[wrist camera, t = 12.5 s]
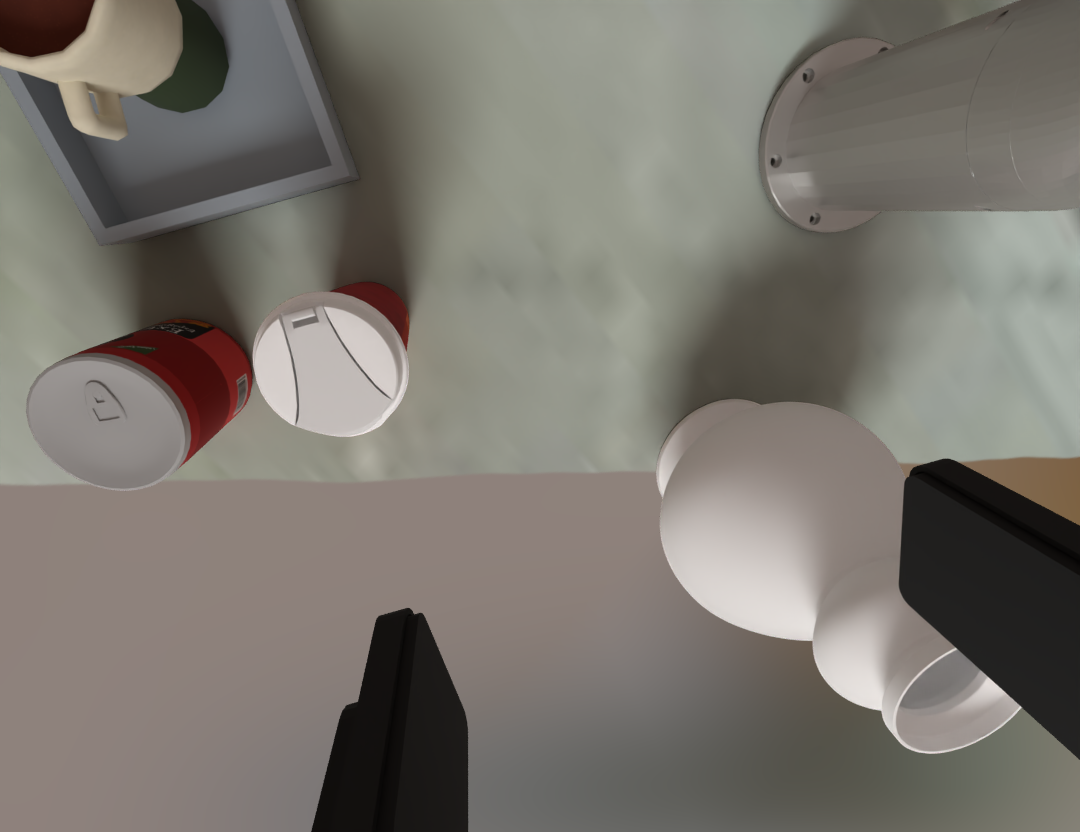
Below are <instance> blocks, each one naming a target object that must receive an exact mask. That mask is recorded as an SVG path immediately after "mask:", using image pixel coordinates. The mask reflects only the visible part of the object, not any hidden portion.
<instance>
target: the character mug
mask: <svg viewBox="0 0 1080 832" xmlns="http://www.w3.org/2000/svg"><path fill="white" fill-rule="evenodd" d="M0 65H1V66H3V67H6V68H9V69H13V70H16V71H20V72H23V73H26V74H29V75H32V76H35V77H38V78H41V79H44V80H47V81H50V82H54V83H57V84H58V86H59V89H60V92H61V95H62V98H63V102H64V105H65V108H66V111H67V115H68V117H69V119H70V121H71V123H72V125H73V127H74V128H76V129H78V130H79V131H81V132H83V133H86V134H88V135H92V136H97V137H101V138H106V139H111V140H116V141H118V140H120V139H122V138H124V137H126V136H127V135H128V130H127V124H126V120H125V116H124V113H123V109H122V105H121V102H120V98H124V97H129V96H133V95H136V96H137V97H139V98H140V99H142V100H144V101H146V102H148V103H150V104H152V105H154V106H156V107H158V108H162V109H166V110H171V111H175V112H179V113H185V112H189V111H193V110H197V109H201V108H205V107H207V106H208V105H209V104H210V103H211V102H212V101H213V100H214V99H215V98H216V97H217V96H218V95H219V94H220V93H221V92H222V91H223V87H224V84H225V80H226V76H227V73H228V69H229V64H228V59H227V54H226V49H225V44H224V39H223V37H222V35H221V34H220V32H219V31H218V29H217V28H216V26H215V25H214V23H213V21H212V20H211V18H210V17H209V15H208V14H207V12H206V11H205V10H204V9H203V8H201V7H200V6H199V5H197V4H196V3H195V2H194V1H192V0H0ZM89 93H93V94H94V97H95V101H96V104H97V108H98V111H99V114H95V112H94V109H93V106H92V102H91V99H90V95H89Z"/></svg>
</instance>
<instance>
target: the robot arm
mask: <svg viewBox="0 0 1080 832" xmlns="http://www.w3.org/2000/svg"><path fill="white" fill-rule="evenodd" d="M802 77H803V78H802ZM771 159H772V164H771V163H770V162H771ZM759 168H760V174H761V178H762V183H763V187H764V189H765V191H766V194H767V196H768V198H769V201H770V202H771V203H772V205H773V206H774V208H775V209H776V211H777V212H778V213H779V214H780V215H781V216H782V217H783V218H785V219H786V220H787V221H788V222H790V223H791V224H793V225H795V226H797V227H799V228H801V229H805V230H809V231H813V232H825V233H829V232H841V231H845V230H848V229H851V228H855V227H857V226H859V225H861V224H863V223H865V222H867V221H869V220H871V219H872V218H873V217H875V216H876V215H878V214H879V213H880V212H882V211H1058V210H1068V209H1075V208H1080V0H1019V1H1017V2H1014V3H1011V4H1009V5H1006V6H1003V7H1001V8H998V9H995V10H993V11H990V12H987V13H985V14H982V15H979V16H977V17H974V18H971V19H969V20H966V21H963V22H961V23H958V24H955V25H953V26H950V27H947V28H945V29H942V30H939V31H937V32H934V33H931V34H929V35H926V36H923V37H921V38H918V39H915V40H913V41H910V42H907V43H904V44H902V45H899V46H896V47H895V46H894V45H893V44H891V43H888V42H886V41H883V40H880V39H877V38H867V37H858V38H851V39H845V40H842V41H840V42H837V43H835V44H832V45H829V46H827V47H825V48H823V49H822V50H820V51H818V52H816V53H814V54H812V55H811V56H810V57H808V58H807V59H806V60H805V61H803V62H802V63H801V64H800V65H798V66H797V67H796V69H795V70H794V71H793V72H792V73H791V74H790V75H789V76H788V77H787V79H786V80H785V81H784V83H783V84H782V86H781V87H780V89H779V90H778V92H777V93H776V95H775V97H774V99H773V101H772V103H771V105H770V108H769V110H768V112H767V114H766V118H765V121H764V125H763V128H762V132H761V138H760V146H759ZM899 590H900V593H901V595H902V597H903V599H904V600H905V602H906V603H907V604H908V605H909V606H910V607H911V608H912V609H913V610H914V611H916V612H917V613H918V614H919V615H920V616H921V617H922V618H923V619H924V620H926V621H927V622H928V623H929V624H930V625H931V626H932V627H933V628H934V629H935V630H937V631H938V632H939V633H940V634H941V635H942V636H943V637H944V638H945V639H947V640H948V641H949V642H950V643H951V644H952V645H953V646H954V647H955V648H957V649H958V650H959V651H960V652H961V653H962V654H963V655H964V656H965V657H966V658H968V659H969V660H970V661H971V662H972V663H973V664H974V665H975V666H976V667H978V668H979V669H980V670H981V671H982V672H983V673H984V674H985V675H986V676H988V677H989V678H990V679H991V680H992V681H993V682H994V683H995V684H996V685H997V686H999V687H1000V688H1001V689H1002V690H1003V691H1004V692H1005V693H1006V694H1007V695H1009V696H1010V697H1011V698H1012V699H1013V700H1014V701H1015V702H1016V703H1017V704H1019V705H1020V706H1021V707H1022V708H1023V709H1024V710H1025V711H1026V712H1027V713H1029V714H1030V715H1031V716H1032V717H1033V718H1034V719H1035V720H1036V721H1037V722H1038V723H1040V724H1041V725H1042V726H1043V727H1044V728H1045V729H1046V730H1047V731H1049V732H1050V733H1051V734H1052V735H1053V736H1054V737H1055V738H1056V739H1057V740H1058V741H1059V742H1061V743H1062V744H1063V745H1064V746H1065V747H1066V748H1067V749H1068V750H1070V751H1071V752H1072V753H1073V754H1074V755H1075V756H1076V757H1077V758H1078V759H1079V760H1080V526H1079V525H1077V524H1076V523H1074V522H1072V521H1069V520H1068V519H1066V518H1064V517H1062V516H1060V515H1058V514H1056V513H1054V512H1053V511H1051V510H1049V509H1047V508H1045V507H1043V506H1041V505H1039V504H1037V503H1035V502H1033V501H1031V500H1029V499H1028V498H1025V497H1024V496H1022V495H1020V494H1018V493H1016V492H1014V491H1012V490H1010V489H1008V488H1006V487H1005V486H1003V485H1001V484H999V483H997V482H995V481H993V480H991V479H989V478H987V477H985V476H983V475H982V474H980V473H978V472H976V471H974V470H972V469H970V468H968V467H966V466H964V465H962V464H960V463H958V462H957V461H954V460H951V459H941V460H937V461H934V462H930V463H927V464H923V465H919V466H916V467H914V468H913V469H912V470H911V472H910V475H909V477H907V478H906V480H905V482H904V493H903V512H902V530H901V549H900V567H899ZM311 832H468V727H467V720H466V715H465V711H464V709H463V706H462V704H461V701H460V699H459V696H458V694H457V692H456V689H455V687H454V685H453V682H452V680H451V677H450V675H449V673H448V670H447V668H446V666H445V664H444V661H443V659H442V656H441V654H440V651H439V649H438V647H437V645H436V642H435V640H434V637H433V635H432V633H431V630H430V628H429V625H428V623H427V621H426V618H425V617H424V615H423V614H422V613H418V614H415V615H414V613H413V611H412V610H411V609H410V608H405V609H402V610H398V611H395V612H391V613H388V614H384V615H381V616H379V617H378V618H377V620H376V623H375V627H374V631H373V636H372V640H371V645H370V650H369V654H368V659H367V663H366V668H365V672H364V677H363V681H362V686H361V691H360V695H359V700H358V702H356V703H352V704H349V705H347V706H346V707H345V708H344V710H343V711H342V713H341V716H340V719H339V723H338V727H337V731H336V735H335V739H334V743H333V747H332V751H331V755H330V759H329V763H328V767H327V771H326V775H325V779H324V783H323V787H322V791H321V795H320V799H319V803H318V808H317V811H316V815H315V819H314V823H313V827H312V831H311Z"/></svg>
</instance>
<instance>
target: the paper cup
mask: <svg viewBox="0 0 1080 832" xmlns="http://www.w3.org/2000/svg"><path fill="white" fill-rule="evenodd" d="M408 335H409V316H408V312H407V309H406V307H405V305H404V303H403V301H402V300H401V299H400V297H399V296H398V295H397V294H396V293H395V292H394V291H392V290H391V289H389V288H388V287H386V286H384V285H381V284H378V283H374V282H359V283H354V284H350V285H347V286H344V287H341V288H338V289H335V290H332V291H329V292H311V293H306V294H301V295H299V296H296V297H293V298H291V299H289V300H287V301H285V302H283V303H282V304H280V305H279V306H278V307H276V308H275V309H274V310H273V311H271V312H270V314H269V315H268V316H267V317H266V318H265V320H264V321H263V323H262V324H261V326H260V328H259V330H258V332H257V335H256V338H255V341H254V347H253V366H254V371H255V376H256V380H257V383H258V386H259V389H260V391H261V393H262V395H263V396H264V398H265V400H266V401H267V403H268V404H269V405H270V406H271V408H272V409H273V410H274V411H275V412H276V413H277V414H278V415H279V416H280V417H282V418H283V419H284V420H286V421H287V422H289V423H290V424H292V425H294V426H297V427H300V428H303V429H306V430H309V431H313V432H316V433H320V434H325V435H331V436H339V437H345V436H349V437H351V436H356V435H361V434H364V433H366V432H369V431H372V430H374V429H375V428H377V427H379V426H381V425H382V424H383V423H384V421H385V420H386V419H387V418H388V417H389V416H390V415H391V413H392V412H393V411H394V410H395V409H396V408H397V406H398V405H399V403H400V402H401V400H402V398H403V395H404V393H405V391H406V387H407V383H408V376H409V364H408V357H407V353H406V351H407V343H408Z"/></svg>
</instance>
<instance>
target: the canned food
mask: <svg viewBox="0 0 1080 832" xmlns="http://www.w3.org/2000/svg"><path fill="white" fill-rule="evenodd" d="M251 387H252V371H251V367H250V363H249V361H248V358H247V356H246V354H245V352H244V351H243V350H242V348H241V347H240V345H239V344H238V343H237V342H236V341H235V340H234V339H233V338H232V337H231V336H230V335H228V334H227V333H225V332H224V331H223V330H221V329H219V328H217V327H215V326H213V325H211V324H208V323H204V322H201V321H197V320H190V319H172V320H168V321H164V322H161V323H158V324H155V325H152V326H150V327H147V328H144V329H141V330H139V331H136V332H133V333H131V334H128V335H125V336H122V337H120V338H117V339H114V340H111V341H109V342H106V343H103V344H100V345H98V346H95V347H92V348H89V349H87V350H84V351H81V352H79V353H77V354H74V355H72V356H69V357H66V358H65V359H63V360H61V361H59V362H57V363H55V364H53V365H52V366H50V367H48V368H47V369H46V370H44V371H43V372H42V373H41V374H40V375H39V376H38V377H37V378H36V380H35V381H34V383H33V384H32V386H31V388H30V391H29V394H28V397H27V408H26V414H27V418H28V423H29V427H30V429H31V432H32V434H33V436H34V439H35V440H36V442H37V443H38V445H39V446H40V448H41V449H42V451H43V452H44V453H45V454H46V455H47V456H48V457H49V458H50V459H51V460H52V461H53V462H54V463H55V464H56V465H57V466H59V467H60V468H61V469H62V470H64V471H65V472H66V473H68V474H70V475H72V476H73V477H75V478H77V479H79V480H80V481H83V482H86V483H88V484H91V485H93V486H96V487H101V488H105V489H110V490H122V491H127V490H138V489H142V488H146V487H149V486H153V485H155V484H157V483H159V482H160V481H162V480H164V479H165V478H167V477H169V476H170V475H171V474H172V473H174V472H175V471H176V470H177V469H178V468H180V467H181V466H182V465H183V464H184V463H185V462H187V461H188V460H189V459H190V458H191V457H192V456H193V455H194V454H195V453H196V452H197V451H198V450H200V449H201V448H202V447H203V446H204V445H205V444H206V443H207V442H208V441H209V440H210V439H211V438H212V437H213V436H214V435H216V434H217V433H218V432H219V431H220V430H221V429H222V428H223V427H224V426H225V425H226V424H227V423H228V422H229V421H231V420H232V419H233V418H234V417H235V416H236V415H237V414H238V413H239V412H240V411H241V410H242V409H243V407H244V406H245V405H246V403H247V401H248V398H249V396H250V392H251Z"/></svg>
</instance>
